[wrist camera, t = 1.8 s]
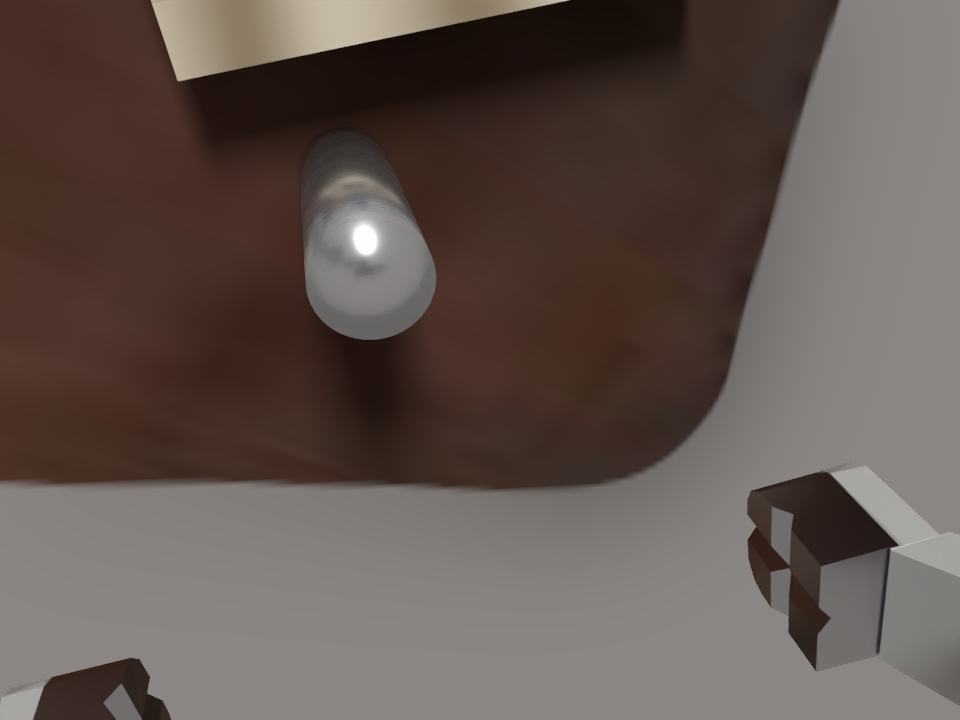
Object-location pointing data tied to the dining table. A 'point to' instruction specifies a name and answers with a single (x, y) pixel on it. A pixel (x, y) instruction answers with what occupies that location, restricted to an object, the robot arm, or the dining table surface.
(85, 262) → the dining table surface
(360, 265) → the plug
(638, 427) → the dining table surface
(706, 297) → the dining table surface
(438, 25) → the socket block
